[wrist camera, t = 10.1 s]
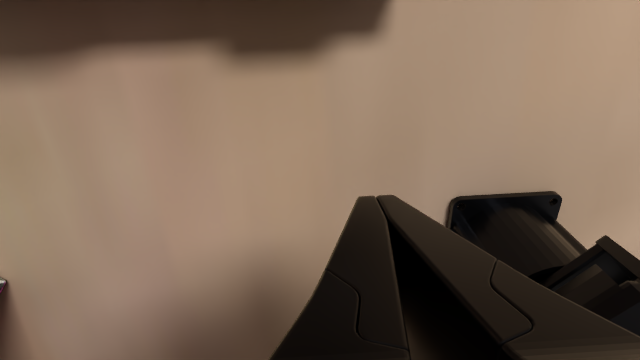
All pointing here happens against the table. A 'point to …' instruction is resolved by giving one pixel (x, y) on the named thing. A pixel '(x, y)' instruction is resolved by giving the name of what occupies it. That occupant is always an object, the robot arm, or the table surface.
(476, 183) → the table surface
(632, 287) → the robot arm
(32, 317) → the table surface
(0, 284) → the candy bar box
